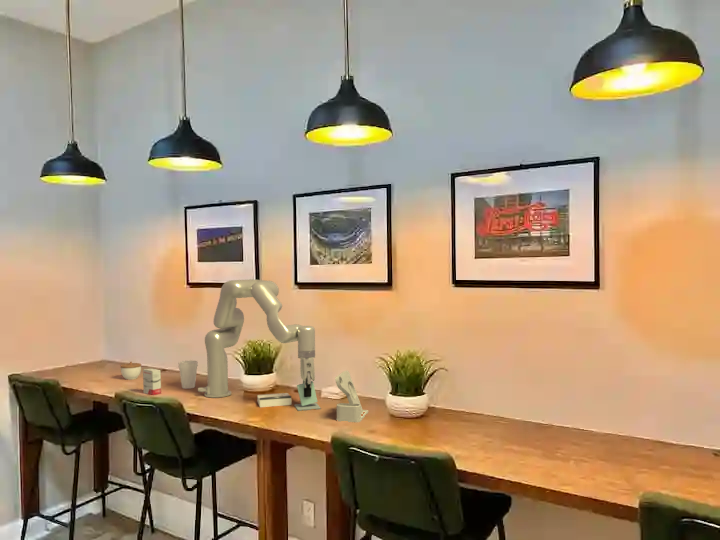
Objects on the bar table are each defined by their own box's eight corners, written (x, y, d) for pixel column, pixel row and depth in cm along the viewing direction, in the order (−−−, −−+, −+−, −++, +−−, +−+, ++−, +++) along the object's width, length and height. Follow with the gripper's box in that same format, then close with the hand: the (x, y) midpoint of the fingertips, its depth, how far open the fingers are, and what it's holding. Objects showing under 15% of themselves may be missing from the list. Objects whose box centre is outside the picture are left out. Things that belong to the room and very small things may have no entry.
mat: (297, 410, 258) (297, 409, 257) (294, 405, 267) (294, 404, 267) (320, 409, 260) (320, 407, 260) (316, 403, 270) (316, 402, 270)
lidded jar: (121, 377, 336) (121, 360, 336) (141, 376, 340) (141, 359, 339) (120, 381, 326) (119, 363, 326) (141, 379, 329) (140, 362, 329)
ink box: (161, 393, 294) (161, 369, 294) (152, 395, 290) (152, 371, 290) (151, 391, 300) (151, 367, 299) (142, 393, 296) (142, 369, 296)
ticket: (302, 406, 262) (297, 386, 261) (301, 404, 264) (296, 385, 264) (317, 401, 264) (313, 382, 263) (316, 400, 266) (312, 380, 265)
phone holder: (359, 422, 238) (358, 377, 238) (334, 421, 240) (334, 376, 240) (368, 411, 255) (368, 369, 255) (345, 410, 257) (345, 368, 257)
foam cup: (175, 388, 305) (174, 363, 305) (185, 384, 314) (185, 360, 314) (191, 389, 302) (191, 363, 302) (201, 385, 311) (201, 360, 311)
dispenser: (259, 407, 265) (259, 398, 265) (257, 401, 275) (257, 392, 275) (291, 404, 268) (291, 395, 268) (287, 399, 279) (287, 390, 279)
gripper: (318, 356, 256) (319, 399, 257) (311, 351, 272) (312, 391, 272) (301, 357, 255) (301, 400, 255) (295, 352, 270) (295, 392, 270)
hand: (307, 395), depth 264 cm, fingers closed on ticket, 2 cm apart
